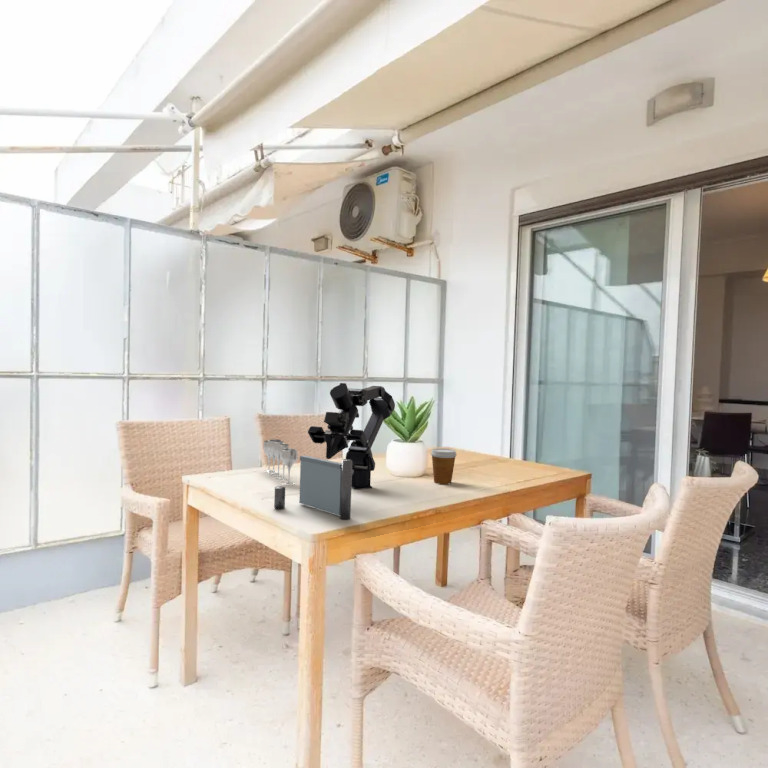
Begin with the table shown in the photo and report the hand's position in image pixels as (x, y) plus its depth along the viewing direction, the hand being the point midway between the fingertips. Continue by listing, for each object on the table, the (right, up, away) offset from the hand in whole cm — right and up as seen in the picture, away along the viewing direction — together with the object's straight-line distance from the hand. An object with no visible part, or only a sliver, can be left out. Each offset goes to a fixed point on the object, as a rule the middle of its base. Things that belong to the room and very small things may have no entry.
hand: (327, 458), depth 158 cm
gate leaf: (-1, -13, -8) cm, 16 cm away
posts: (-3, -14, -11) cm, 18 cm away
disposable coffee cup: (+39, -14, +34) cm, 54 cm away
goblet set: (-22, -12, +34) cm, 42 cm away
